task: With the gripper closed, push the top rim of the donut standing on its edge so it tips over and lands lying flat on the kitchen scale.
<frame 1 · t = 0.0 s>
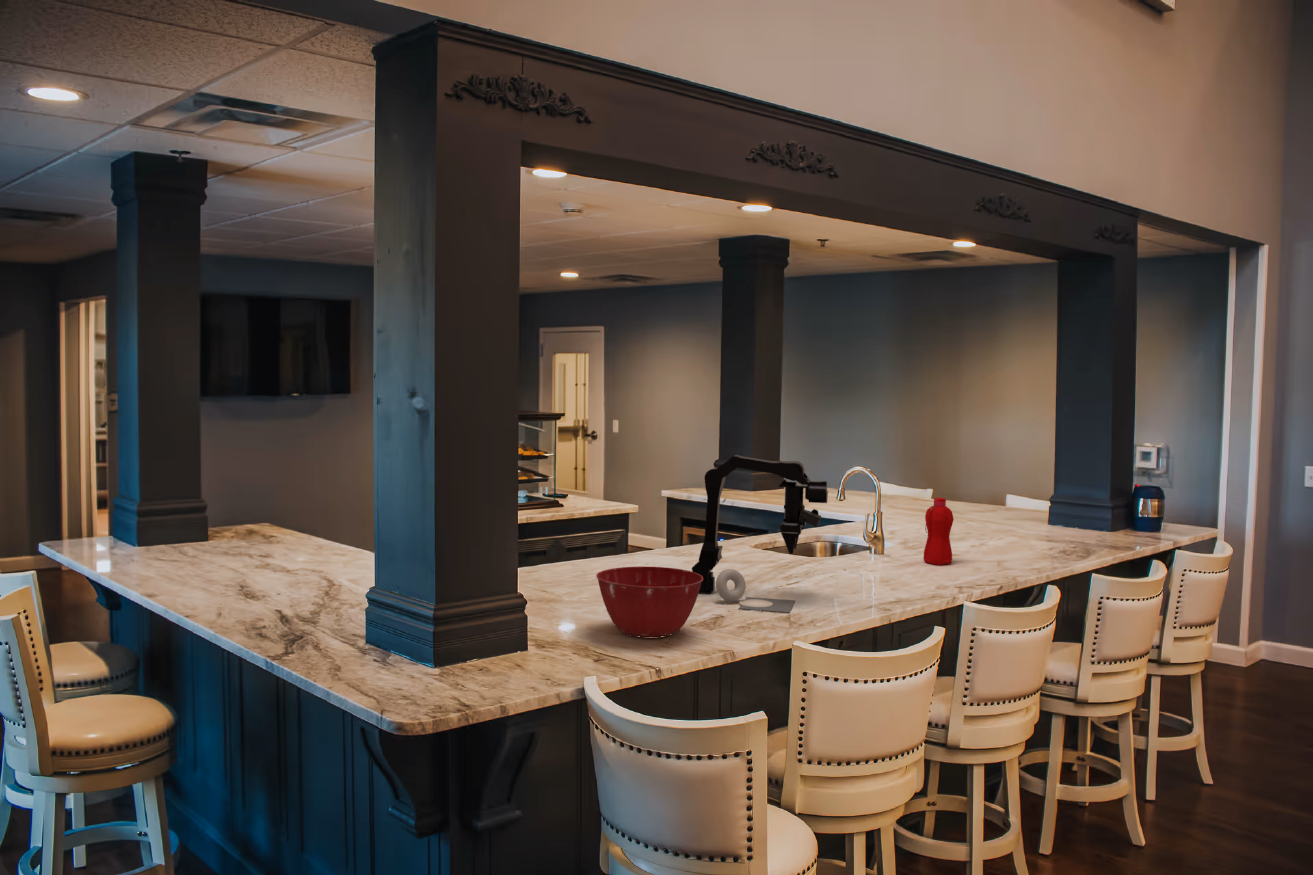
hand: (792, 551, 302), 15 cm above the counter, tool pointing down, fingers open, 9 cm apart
mixing bowl: (648, 632, 258), on the counter
kitchen scale: (767, 605, 292), on the counter
water bottle: (935, 564, 366), on the counter
donut: (733, 602, 294), on the counter
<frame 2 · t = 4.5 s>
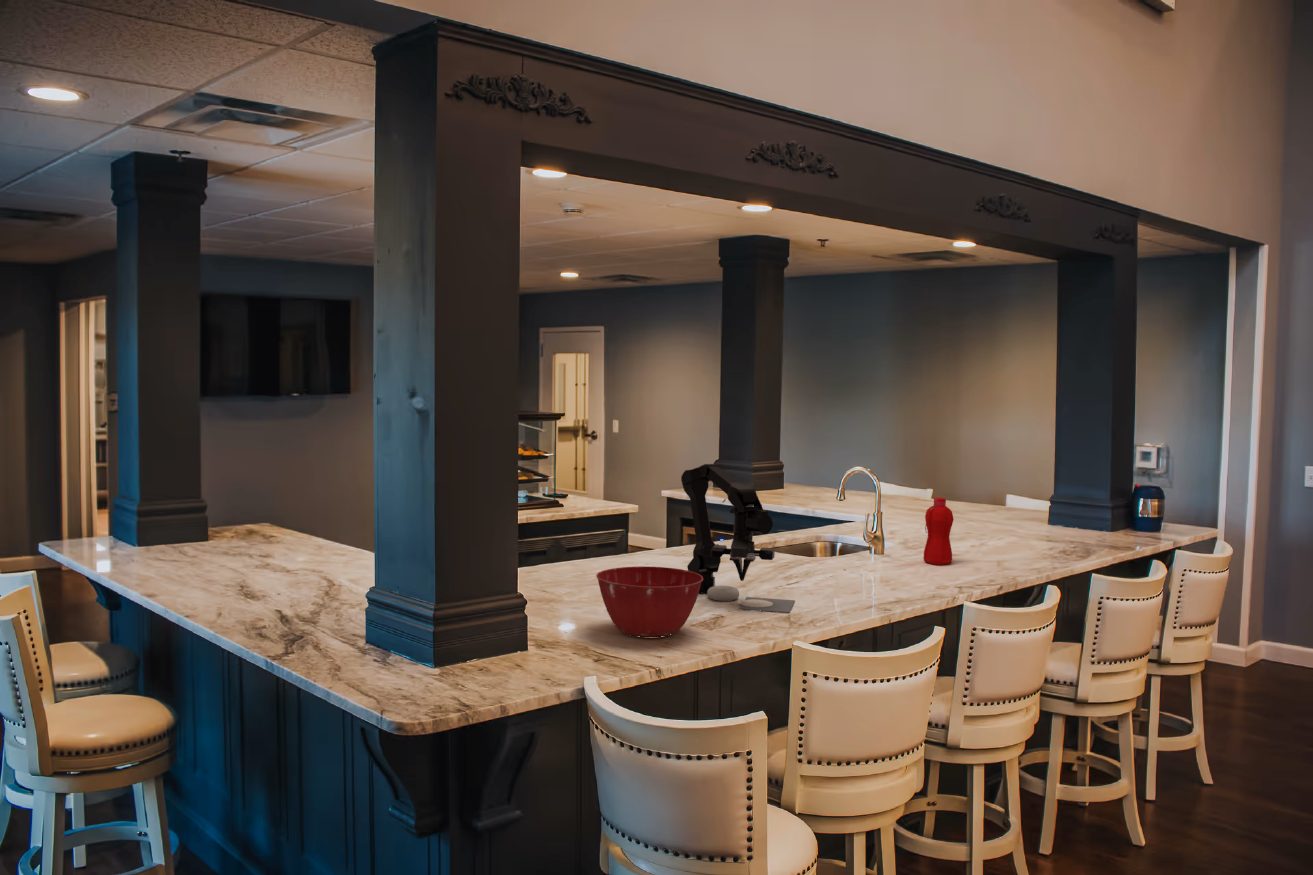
hand: (742, 580, 293), 7 cm above the counter, tool pointing down, fingers closed
donut: (731, 596, 295), point 2 cm above the counter
everything else where it was.
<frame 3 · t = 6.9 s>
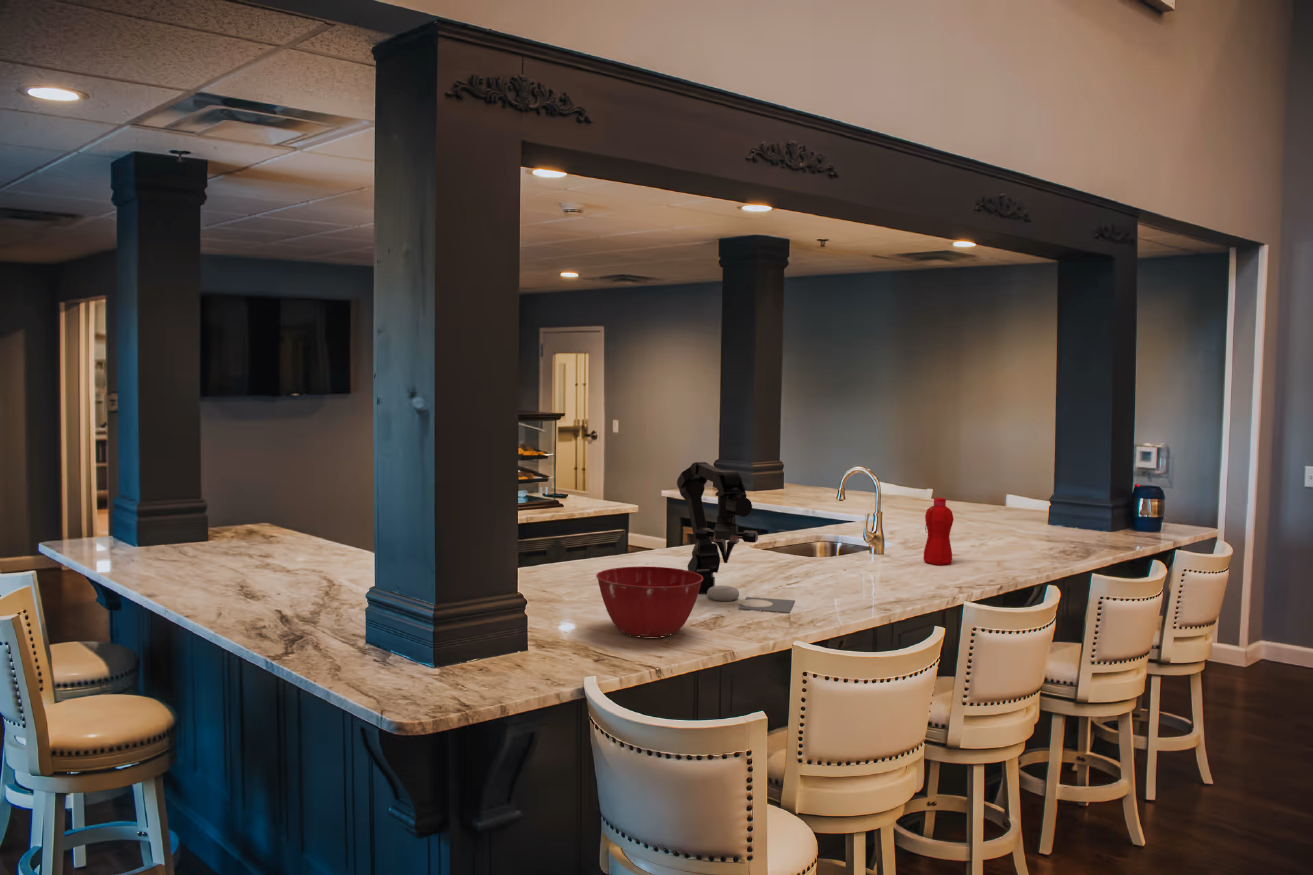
hand: (725, 562, 295), 12 cm above the counter, tool pointing down, fingers closed
nothing on the counter moved.
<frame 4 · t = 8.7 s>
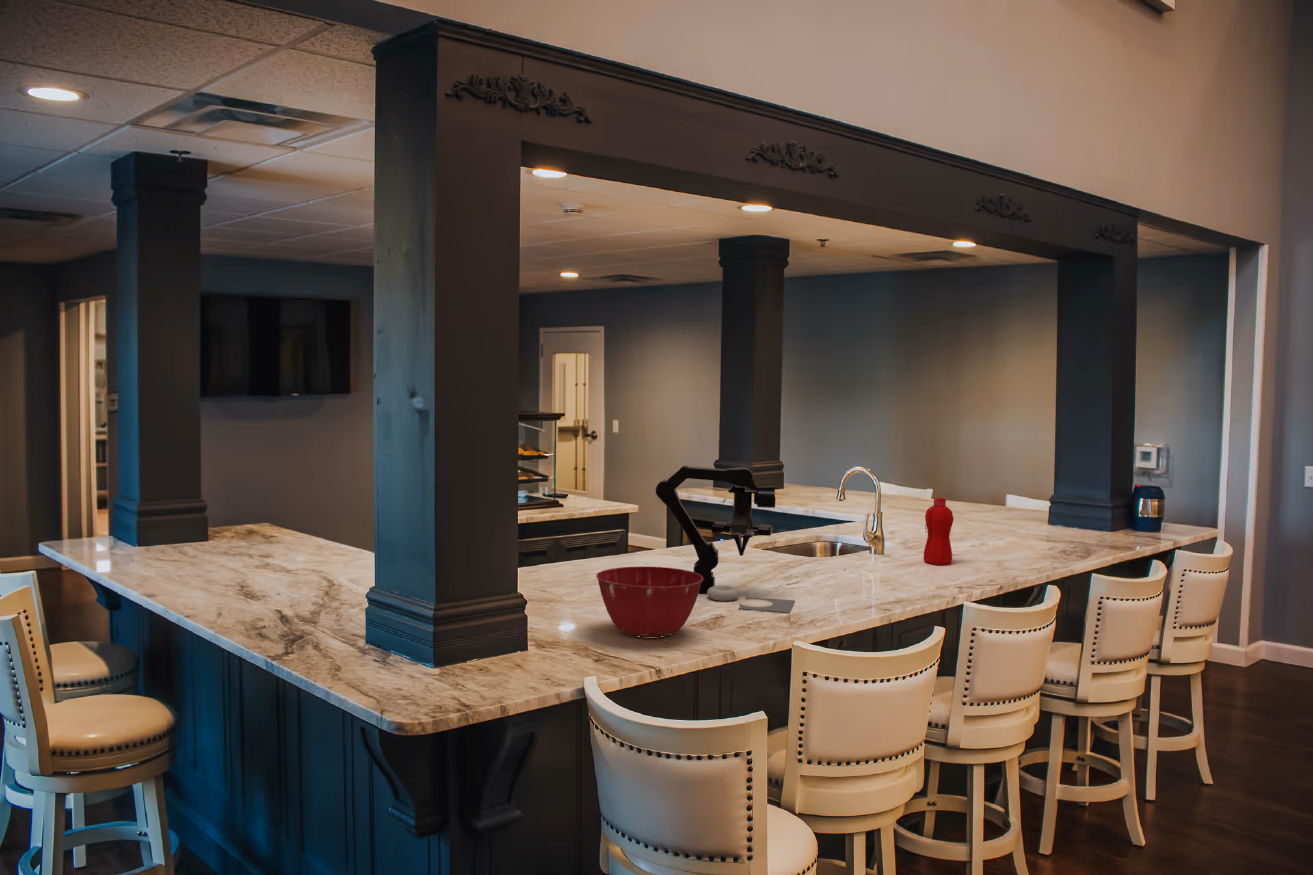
hand: (741, 555, 308), 12 cm above the counter, tool pointing down, fingers closed
nothing on the counter moved.
at the end: donut tilted 89°; donut inside the target area on the kitchen scale (8.3 cm from its centre), point 1.6 cm above the kitchen scale's base; the gripper is holding nothing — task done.
